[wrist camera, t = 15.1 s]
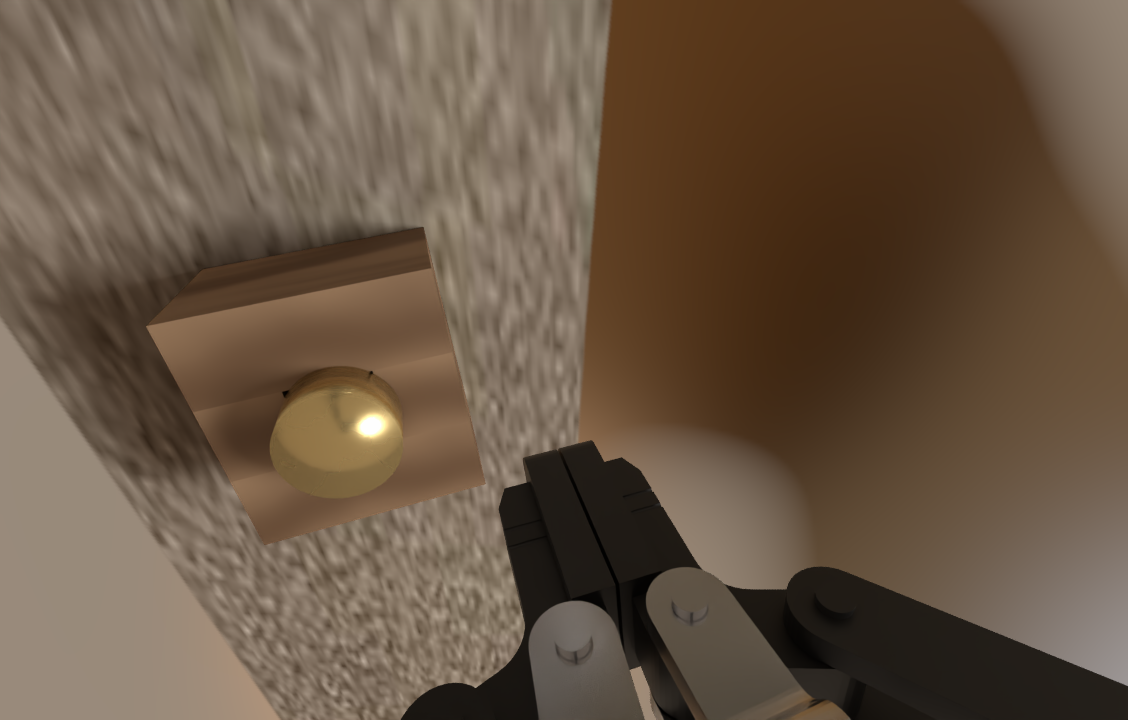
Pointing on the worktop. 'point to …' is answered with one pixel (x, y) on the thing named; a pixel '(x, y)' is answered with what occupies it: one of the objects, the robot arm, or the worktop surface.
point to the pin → (338, 433)
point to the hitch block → (315, 341)
